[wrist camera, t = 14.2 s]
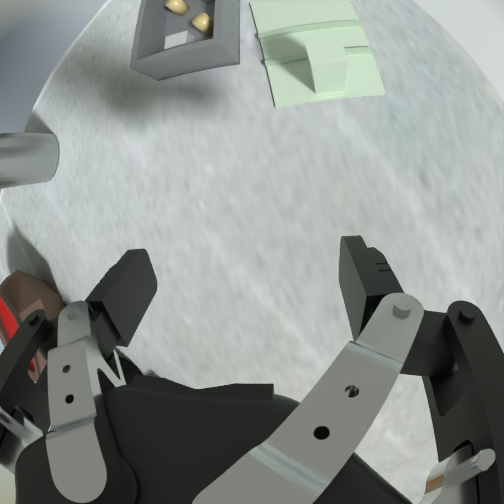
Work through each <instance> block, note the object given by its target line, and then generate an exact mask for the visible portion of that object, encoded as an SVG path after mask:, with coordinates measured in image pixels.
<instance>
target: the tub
mask: <svg viewBox="0 0 504 504" xmlns="http://www.w3.org/2000/svg"><path fill="white" fill-rule="evenodd" d="M237 64H240V0H142V1H141V5H140V10H139V15H138V20H137V25H136V31H135V36H134V43H133V50H132V57H131V65H130V68H131V69H133V70H135V71H138V72H140V73H142V74H145V75H147V76H149V77H152V78H154V79H156V80H158V81H159V80H163V79H166V78H170V77H174V76H178V75H182V74H187V73H191V72H196V71H201V70H206V69H211V68H217V67H223V66H230V65H237Z"/></svg>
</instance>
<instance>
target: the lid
mask: <svg viewBox="0 0 504 504" xmlns="http://www.w3.org/2000/svg"><path fill="white" fill-rule="evenodd" d="M250 5H251V8H252V12H253V16H254V19H255V23H256V27H257V30H258V37H259V39H260V42H261V46H262V50H263V54H264V58H265V65H266V67H267V71H268V75H269V79H270V84H271V88H272V92H273V97H274V102H275V106H276V109H277V108H282V107H287V106H293V105H299V104H305V103H311V102H318V101H325V100H333V99H342V98H352V97H364V96H380V95H385V91H384V87H383V84H382V81H381V77H380V74H379V71H378V68H377V65H376V62H375V59H374V56H373V49H372V47H370V45H369V43H368V40H367V37H366V35H365V32H364V30H363V28H362V22H361V20H359V18H358V16H357V14H356V12H355V9H354V7H353V5H352V3H351V1H350V0H259V1H254V2H250Z"/></svg>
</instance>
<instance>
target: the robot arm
mask: <svg viewBox="0 0 504 504" xmlns="http://www.w3.org/2000/svg"><path fill="white" fill-rule="evenodd" d="M58 159H59V146H58V141H57V139H56V137H55V135H54V134H52V133H3V134H0V189H3V188H9V187H15V186H21V185H27V184H35V183H42V182H48V181H49V180H51V178H52V177H53V175H54V174H55V171H56V168H57V165H58ZM339 283H340V288H341V292H342V295H343V299H344V303H345V307H346V311H347V315H348V318H349V323H350V327H351V331H352V335H353V339H354V342H353V341H349V342H348V343H347V344H346V346H345V347H344V348H343V350H342V351H341V352H340V354H339V355H338V356H337V358H336V359H335V360H334V362H333V363H332V364H331V366H330V367H329V368H328V370H327V371H326V372H325V374H324V375H323V376H322V377H321V379H320V380H319V381H318V382H317V384H316V385H315V386H314V387H313V389H312V390H311V391H310V392H309V393H308V395H307V396H306V397H305V398H304V399H303V401H302V402H301V403H299V402H298V401H295V400H293V399H291V398H288V397H285V396H281V395H277V394H274V385H273V384H237V383H235V384H230V385H224V386H218V387H211V388H204V389H193V388H190V387H187V386H184V385H182V384H179V383H176V382H173V381H171V380H168V379H166V378H160V377H152V376H145V375H139V374H135V376H134V379H133V381H132V384H126V382H125V379H124V376H123V372H122V369H121V365H120V362H119V358H118V355H117V353H116V351H115V350H114V349H115V347H116V346H124V347H128V345H129V343H130V341H131V339H132V337H133V335H134V333H135V331H136V329H137V327H138V326H139V324H140V322H141V320H142V318H143V316H144V314H145V312H146V310H147V308H148V306H149V304H150V303H151V301H152V299H153V297H154V295H155V293H156V291H157V279H156V276H155V273H154V270H153V267H152V264H151V261H150V258H149V255H148V253H147V251H146V250H145V249H132V250H127V251H126V253H125V254H124V255H123V256H122V257H121V259H120V260H119V261H118V262H117V263H116V264H115V265H114V266H112V267H111V268H110V269H109V270H108V272H107V273H106V274H105V277H103V278H102V279H101V280H100V283H98V284H97V285H96V287H95V288H94V289H93V291H92V292H91V293H90V295H89V296H88V297H87V299H86V300H85V301H76V302H73V303H71V304H69V305H68V306H66V307H65V308H64V309H63V310H62V311H61V313H60V315H59V317H57V318H52V319H50V318H49V316H48V315H47V313H46V311H45V310H43V309H38V310H35V311H33V312H32V313H30V314H29V315H28V316H27V317H26V318H25V319H24V321H23V322H22V324H21V325H20V326H19V328H18V329H17V331H16V332H15V333H14V335H13V336H12V338H11V339H10V341H9V342H8V344H7V345H6V347H5V349H4V350H3V352H2V353H1V355H0V465H1V466H3V467H4V468H6V469H8V470H9V471H11V472H12V473H13V474H14V475H15V486H16V504H412V502H411V501H409V500H408V499H407V498H406V497H405V496H403V495H402V494H401V493H400V492H399V491H397V490H396V489H395V488H394V487H393V486H392V485H390V484H389V483H388V482H387V481H386V480H385V479H383V478H382V477H381V476H380V475H379V474H378V473H377V472H376V471H374V470H373V469H372V468H371V467H370V466H369V465H368V464H367V463H366V462H365V461H363V460H362V459H361V458H360V457H359V456H358V455H357V454H356V453H355V452H354V450H355V449H356V448H357V446H358V445H359V443H360V442H361V440H362V439H363V437H364V435H365V434H366V432H367V431H368V429H369V428H370V426H371V424H372V423H373V421H374V419H375V418H376V416H377V414H378V413H379V411H380V409H381V407H382V406H383V404H384V402H385V400H386V398H387V396H388V395H389V393H390V391H391V389H392V387H393V385H394V383H395V381H396V379H397V377H398V375H399V373H400V374H408V375H417V376H422V379H423V383H424V387H425V391H426V395H427V399H428V404H429V408H430V413H431V418H432V423H433V428H434V434H435V440H436V446H437V453H438V460H439V463H438V464H437V465H436V466H435V467H434V468H433V469H432V470H431V472H430V474H429V475H428V478H427V481H426V490H425V494H424V496H423V498H422V500H421V501H420V503H419V504H504V353H503V351H502V349H501V347H500V345H499V343H498V341H497V339H496V337H495V335H494V333H493V331H492V329H491V327H490V325H489V324H488V322H487V320H486V318H485V316H484V315H483V313H482V312H481V310H480V309H479V308H478V307H477V306H475V305H474V304H472V303H470V302H467V301H455V302H453V303H452V304H451V305H450V306H449V308H448V310H447V312H446V313H441V312H433V311H426V310H424V309H423V306H422V304H421V303H420V302H419V301H418V300H417V299H416V298H415V297H413V296H411V295H409V294H405V293H404V292H403V290H402V288H401V286H400V284H399V282H398V280H397V278H396V276H395V275H394V273H393V271H392V270H391V267H390V265H389V264H388V262H387V260H386V258H385V257H384V255H383V254H382V253H381V252H380V251H378V250H377V249H376V248H374V247H371V248H367V246H366V244H365V242H364V241H363V239H362V237H361V236H360V235H359V236H342V237H341V242H340V260H339ZM37 350H38V351H39V352H40V354H41V355H42V356H43V358H44V359H45V360H46V361H47V363H46V365H45V367H44V369H43V371H42V373H41V375H40V377H39V378H38V380H37V382H36V383H35V382H34V381H33V380H32V379H31V378H30V377H29V374H28V365H29V363H30V362H31V360H32V358H33V357H34V355H35V353H36V352H37ZM50 425H51V430H50V431H49V432H48V430H49V427H50Z"/></svg>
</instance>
